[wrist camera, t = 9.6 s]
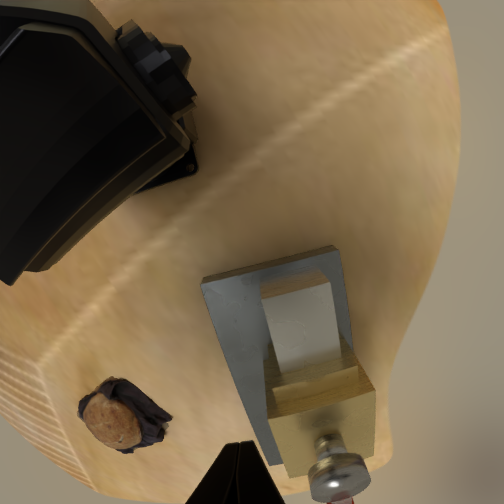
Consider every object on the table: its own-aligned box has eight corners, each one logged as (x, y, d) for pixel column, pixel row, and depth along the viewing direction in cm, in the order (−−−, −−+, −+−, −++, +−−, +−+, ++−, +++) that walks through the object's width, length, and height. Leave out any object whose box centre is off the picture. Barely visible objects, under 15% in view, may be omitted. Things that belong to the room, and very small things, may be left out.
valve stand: (268, 455, 24) (273, 529, 14) (203, 277, 19) (168, 348, 10) (354, 434, 23) (380, 503, 14) (332, 245, 19) (396, 292, 10)
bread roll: (132, 450, 25) (123, 473, 21) (73, 406, 23) (59, 427, 20) (186, 418, 23) (179, 446, 19) (114, 362, 22) (97, 387, 18)
